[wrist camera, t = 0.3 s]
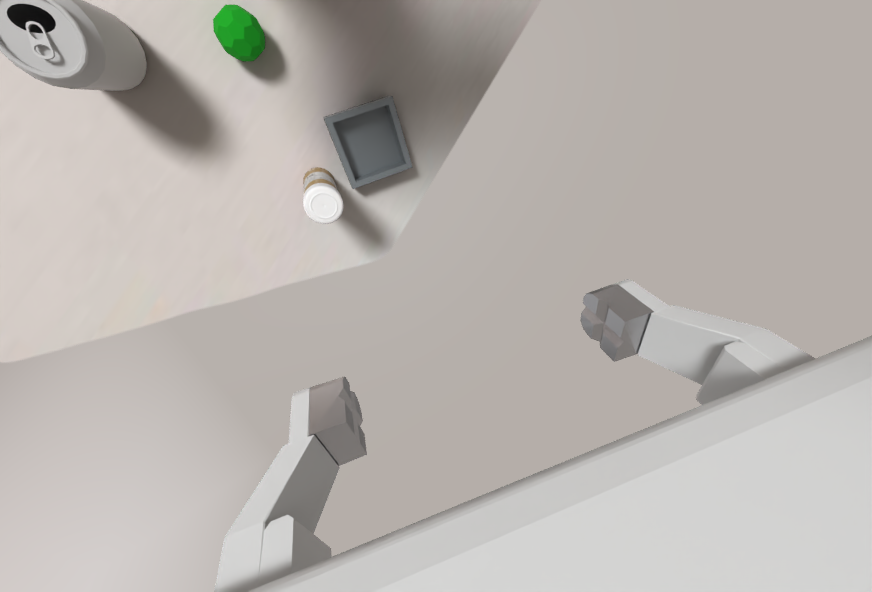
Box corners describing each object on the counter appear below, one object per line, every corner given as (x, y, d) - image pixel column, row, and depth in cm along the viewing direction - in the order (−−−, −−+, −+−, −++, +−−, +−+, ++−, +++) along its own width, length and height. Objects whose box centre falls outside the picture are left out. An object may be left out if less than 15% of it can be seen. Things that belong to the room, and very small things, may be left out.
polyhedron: (275, 53, 41) (272, 48, 37) (238, 69, 40) (231, 66, 37) (248, 2, 38) (241, -9, 34) (208, 20, 38) (197, 11, 34)
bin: (323, 117, 46) (324, 118, 43) (387, 96, 47) (392, 96, 44) (350, 184, 51) (352, 189, 49) (407, 164, 52) (412, 167, 50)
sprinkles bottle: (316, 203, 51) (319, 232, 40) (296, 176, 48) (294, 199, 37) (341, 187, 51) (351, 212, 40) (322, 160, 48) (328, 178, 37)
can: (132, 10, 35) (67, -24, 26) (160, 92, 39) (113, 89, 29) (42, 2, 33) (-67, -39, 23) (81, 89, 37) (1, 86, 27)
